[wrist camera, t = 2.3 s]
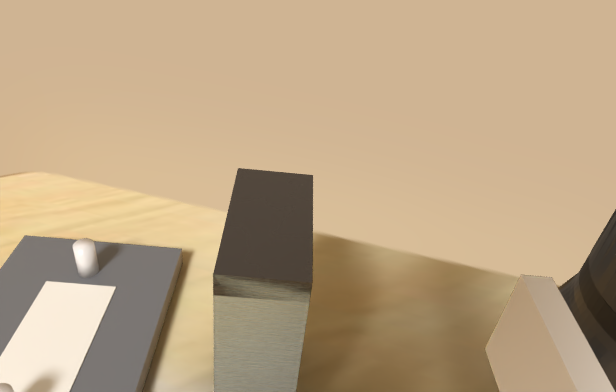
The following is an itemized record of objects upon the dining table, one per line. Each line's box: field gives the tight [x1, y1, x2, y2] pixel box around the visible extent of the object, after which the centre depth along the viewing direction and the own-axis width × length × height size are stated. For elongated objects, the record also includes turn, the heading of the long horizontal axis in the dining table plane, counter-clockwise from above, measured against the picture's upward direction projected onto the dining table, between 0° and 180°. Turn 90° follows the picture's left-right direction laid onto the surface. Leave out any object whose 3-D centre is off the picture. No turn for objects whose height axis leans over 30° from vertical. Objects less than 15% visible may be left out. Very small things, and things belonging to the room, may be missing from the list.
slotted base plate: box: [0, 235, 182, 392], centre depth 31 cm, size 12×18×4 cm, turn 179°
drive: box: [213, 168, 313, 392], centre depth 28 cm, size 4×8×14 cm, turn 179°
